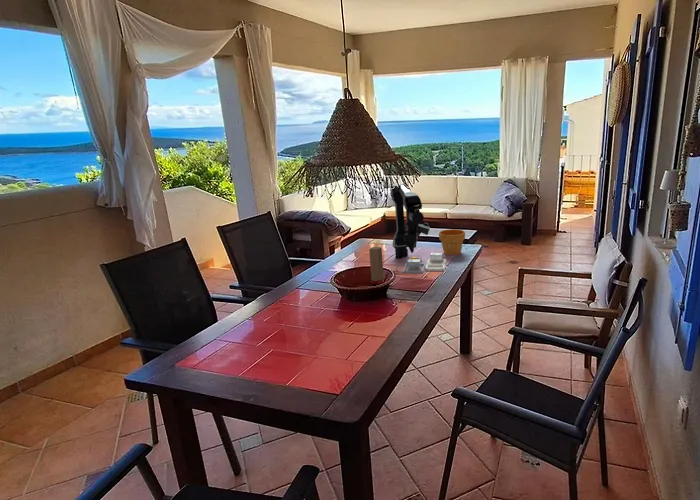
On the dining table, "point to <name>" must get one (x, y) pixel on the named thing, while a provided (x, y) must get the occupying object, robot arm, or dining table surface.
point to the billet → (414, 264)
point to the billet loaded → (436, 257)
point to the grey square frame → (418, 258)
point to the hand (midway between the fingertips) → (413, 250)
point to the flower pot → (452, 241)
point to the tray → (414, 271)
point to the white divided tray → (435, 265)
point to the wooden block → (376, 264)
